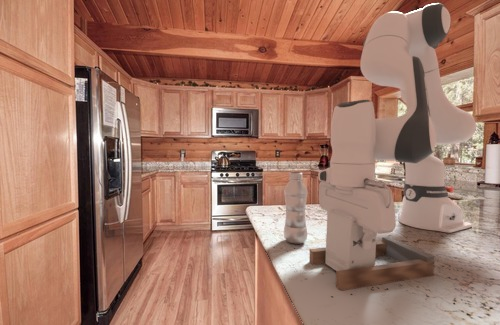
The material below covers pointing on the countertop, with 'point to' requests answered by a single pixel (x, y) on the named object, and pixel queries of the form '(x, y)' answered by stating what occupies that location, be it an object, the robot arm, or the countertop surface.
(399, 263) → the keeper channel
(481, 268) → the countertop surface
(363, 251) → the supplement box
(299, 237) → the plastic bottle
